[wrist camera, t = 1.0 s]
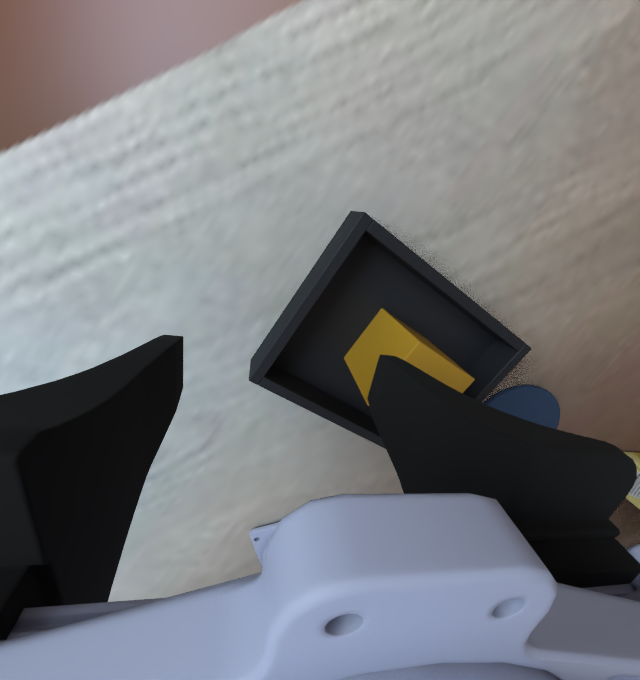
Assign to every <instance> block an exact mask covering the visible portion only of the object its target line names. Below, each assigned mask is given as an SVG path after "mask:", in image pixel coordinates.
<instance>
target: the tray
mask: <svg viewBox="0 0 640 680" xmlns="http://www.w3.org/2000/svg"><path fill="white" fill-rule="evenodd" d="M381 308H383V309H385V310H386V311H388V312H389V313H390V314H392V315H393V316H395V317H396V318H398V319H399V320H400V321H402V322H403V323H405V324H406V325H408V326H409V327H411V328H412V329H413V330H415V331H416V332H418V333H419V334H421V335H422V336H423V337H425V338H426V339H428V340H429V341H430V342H431V343H432V344H434V345H435V346H436V347H437V348H438V349H439V350H441V351H442V352H443V353H444V354H445V355H447V356H448V357H449V358H450V359H451V360H453V361H454V362H455V363H456V364H457V365H459V366H460V367H461V368H462V369H463V370H465V371H466V372H467V373H468V374H469V375H471V376H472V377H473V378H474V379H475V380H474V381H473V382H472V383H471V385H470V386H469V387H468V388H467V389H466V390H465V391H464V392H463V394H464V395H466V396H469V397H471V398H473V399H475V400H477V401H479V402H482V401H483V400H484V399H485V398H486V397H487V396H488V395H489V394H490V393H491V392H492V390H493V389H494V388H495V387H496V386H497V385H498V384H499V383H500V382H501V381H502V380H503V379H504V378H505V377H506V375H507V374H508V373H509V372H510V371H511V370H512V369H513V368H514V367H515V366H516V365H517V364H518V363H519V362H520V361H521V359H522V358H523V357H524V356H525V355H526V354H527V353H528V352H529V351H530V350H531V348H530V347H529V346H528V345H527V344H525V343H524V342H523V341H522V340H521V339H519V338H518V337H517V336H516V335H515V334H513V333H512V332H511V331H510V330H508V329H507V328H506V327H505V326H503V325H502V324H501V323H500V322H499V321H497V320H496V319H495V318H494V317H492V316H491V315H490V314H489V313H488V312H486V311H485V310H484V309H483V308H481V307H480V306H479V305H478V304H477V303H475V302H474V301H473V300H472V299H470V298H469V297H468V296H467V295H466V294H464V293H463V292H462V291H461V290H459V289H458V288H457V287H456V286H454V285H453V284H452V283H451V282H450V281H448V280H447V279H446V278H445V277H443V276H442V275H441V274H440V273H439V272H437V271H436V270H435V269H434V268H432V267H431V266H430V265H429V264H428V263H426V262H425V261H424V260H423V259H421V258H420V257H419V256H418V255H416V254H415V253H414V252H413V251H412V250H410V249H409V248H408V247H407V246H405V245H404V244H403V243H402V242H401V241H399V240H398V239H397V238H396V237H394V236H393V235H392V234H391V233H390V232H388V231H387V230H386V229H385V228H383V227H382V226H381V225H380V224H379V223H377V222H376V221H375V220H373V219H372V218H371V217H370V216H369V215H367V214H366V213H365V212H356V211H351V212H350V213H349V215H348V216H347V218H346V219H345V221H344V222H343V224H342V225H341V227H340V228H339V229H338V231H337V232H336V234H335V235H334V237H333V238H332V240H331V241H330V243H329V244H328V246H327V247H326V249H325V250H324V252H323V253H322V255H321V256H320V258H319V259H318V261H317V262H316V264H315V265H314V267H313V268H312V270H311V271H310V273H309V274H308V276H307V277H306V279H305V280H304V282H303V283H302V284H301V286H300V287H299V289H298V290H297V292H296V293H295V295H294V296H293V298H292V299H291V301H290V302H289V304H288V305H287V307H286V308H285V310H284V311H283V313H282V314H281V316H280V317H279V319H278V320H277V322H276V323H275V325H274V326H273V328H272V329H271V331H270V332H269V334H268V335H267V336H266V338H265V339H264V341H263V342H262V344H261V345H260V347H259V348H258V350H257V351H256V353H255V354H254V356H253V357H252V359H251V364H250V374H249V381H251V382H253V383H255V384H257V385H258V384H259V386H261V387H263V388H265V389H267V390H269V391H271V392H273V393H275V394H277V395H279V396H281V397H283V398H285V399H287V400H289V401H291V402H293V403H295V404H297V405H299V406H301V407H303V408H305V409H307V410H309V411H311V412H313V413H315V414H317V415H319V416H321V417H323V418H325V419H327V420H329V421H331V422H333V423H335V424H337V425H339V426H341V427H343V428H345V429H347V430H349V431H351V432H353V433H355V434H357V435H359V436H362V437H364V438H366V439H368V440H370V441H372V442H374V443H376V444H378V445H380V446H382V447H384V448H386V447H385V445H384V443H383V441H382V439H381V436H380V434H379V432H378V430H377V427H376V425H375V423H374V420H373V417H372V414H371V411H370V407H369V406H368V405H367V403H366V401H365V399H364V397H363V395H362V393H361V391H360V389H359V387H358V385H357V383H356V381H355V379H354V377H353V375H352V373H351V371H350V369H349V368H348V366H347V364H346V362H345V360H344V357H345V355H346V354H347V353H348V351H349V350H350V349H351V347H352V346H353V345H354V344H355V342H356V341H357V340H358V338H359V337H360V336H361V334H362V333H363V332H364V330H365V329H366V328H367V326H368V325H369V324H370V323H371V321H372V320H373V319H374V317H375V316H376V315H377V313H378V312H379V311H380V309H381Z"/></svg>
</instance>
